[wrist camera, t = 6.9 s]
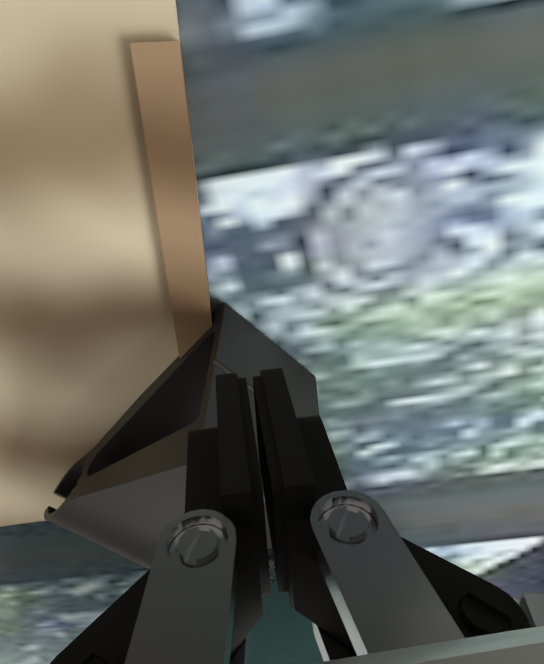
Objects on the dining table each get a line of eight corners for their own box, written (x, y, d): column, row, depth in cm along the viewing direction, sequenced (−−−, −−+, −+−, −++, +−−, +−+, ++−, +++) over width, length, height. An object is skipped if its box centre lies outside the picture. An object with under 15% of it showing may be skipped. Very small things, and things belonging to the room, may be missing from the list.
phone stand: (314, 372, 24) (166, 480, 29) (224, 299, 21) (80, 430, 26) (332, 540, 16) (129, 647, 21) (198, 458, 14) (3, 599, 19)
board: (-384, -52, 14) (-432, -64, 13) (168, -64, 15) (165, -75, 14) (-74, 524, 25) (-86, 544, 24) (231, 485, 26) (232, 501, 25)
